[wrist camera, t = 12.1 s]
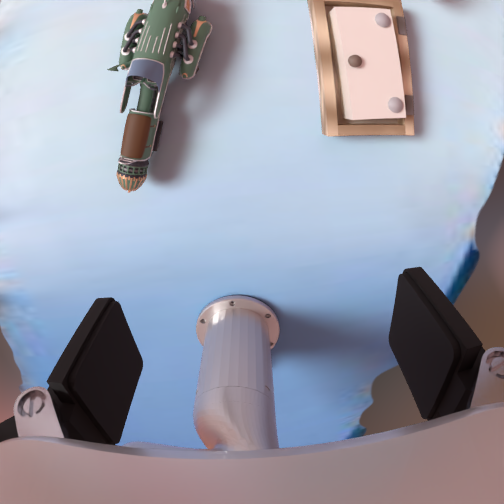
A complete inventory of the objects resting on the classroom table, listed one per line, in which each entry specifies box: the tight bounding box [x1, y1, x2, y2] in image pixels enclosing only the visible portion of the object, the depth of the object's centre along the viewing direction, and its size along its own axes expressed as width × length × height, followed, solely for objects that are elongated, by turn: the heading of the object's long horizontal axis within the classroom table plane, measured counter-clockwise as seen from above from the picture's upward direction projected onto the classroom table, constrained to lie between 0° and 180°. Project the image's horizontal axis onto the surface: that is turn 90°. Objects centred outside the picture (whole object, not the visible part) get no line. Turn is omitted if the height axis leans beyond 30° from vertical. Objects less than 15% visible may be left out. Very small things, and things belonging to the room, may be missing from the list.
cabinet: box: [307, 0, 414, 136], centre depth 30 cm, size 17×11×3 cm, turn 6°
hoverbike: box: [108, 0, 212, 192], centre depth 30 cm, size 10×25×8 cm, turn 164°
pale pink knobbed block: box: [326, 7, 406, 120], centre depth 29 cm, size 13×6×4 cm, turn 9°
